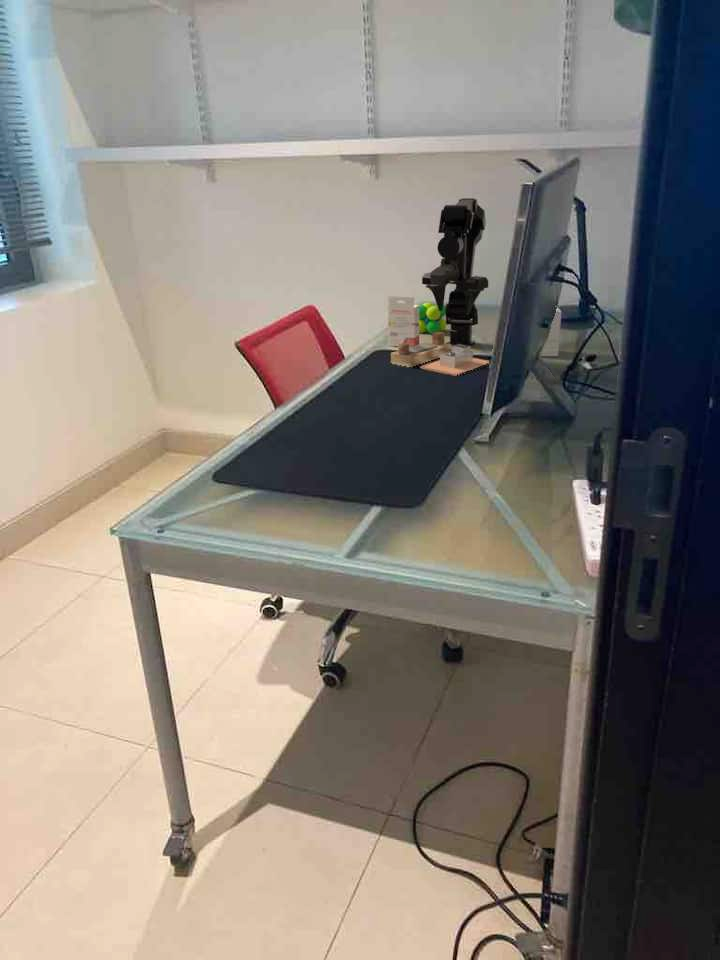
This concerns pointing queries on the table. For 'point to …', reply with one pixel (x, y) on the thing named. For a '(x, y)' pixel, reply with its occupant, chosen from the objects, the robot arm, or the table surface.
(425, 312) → the molecule model
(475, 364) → the rubber mat
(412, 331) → the ink cartridge box
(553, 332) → the supplement box
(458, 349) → the lever cap
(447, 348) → the hand plane
